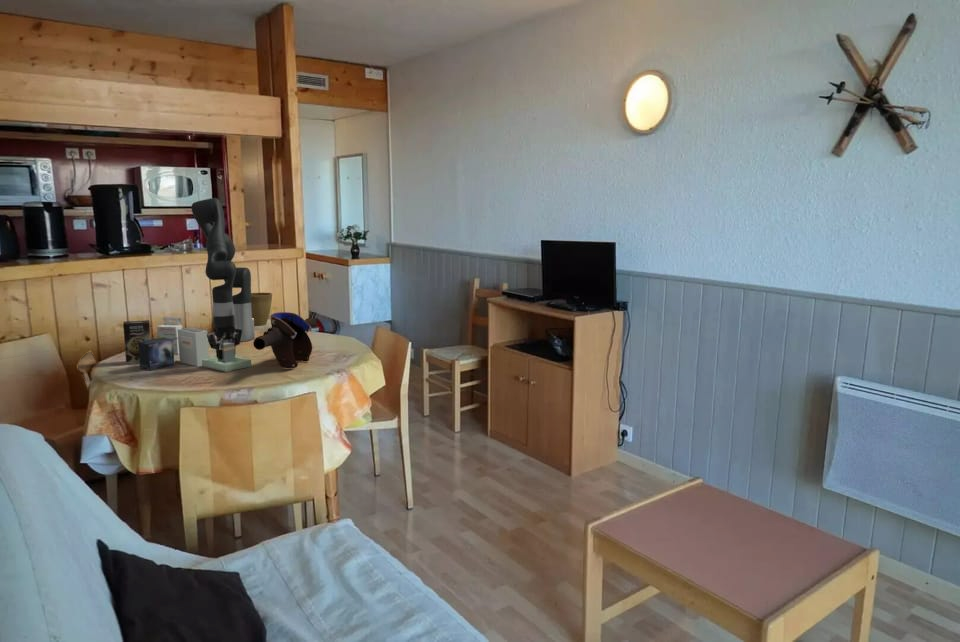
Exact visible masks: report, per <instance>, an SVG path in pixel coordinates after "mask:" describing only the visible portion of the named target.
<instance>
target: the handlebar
mask: <svg viewBox="0 0 960 642" xmlns="http://www.w3.org/2000/svg"><path fill="white" fill-rule="evenodd" d="M270 325H271V327H269V328H267V330H266V331H264V332H263V333H262V334H263V335H260V336H257V337H255V339H253V341H252V343H253V344H252V345H253V347H254V349H256V350H258V351H261V350H264V348H268V347H271V350H272V351H271V352H272V353H273V355H274V357H275V359H276V361H277V364H278V365H279V367H281V368H283V369H295V368H296V369H297V368H298V362H309V360H310V356H311V355H312V351H313V344H312V340H311V339H310V337H309V334H308V333H309V332H310V330H311V329H313V328H316V327H317V325H318V324H317V319H316V318H314V317H312V316H310V317H308V318H306V319H304V318H303V317H302V316H300V315H299V314H297V313H294V312H287V311H286V312H282V311H281V312H275V313H272V314H271V315H270Z"/></svg>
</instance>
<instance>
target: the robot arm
mask: <svg viewBox="0 0 960 642" xmlns="http://www.w3.org/2000/svg"><path fill="white" fill-rule="evenodd" d="M190 208H191V209H190V210H191V212H192V215H193V218H194V220H195V222H196V223H197V225H198V226H199V229H200V230H201V232H202V233H203V235H204V237H205V239H206V241H205V246H206V248H205V249H206V253H207V263H206V265H205V275H206V277H207V279H209V280H211V281H223V282H224V283H223V284H221V285H218V286H214V287H212V288H211V289H212V290H211V291H212V293H211V294H212V321H213V328H214V330H213V332H212V333H207V338H208V345H209V348H211V349H214V350H215V351H216V356H215V357H217V358H218V359H220V360H221V359H223V354H222V350H221V349H222V345H223V344H224V342H231V343H234V346H235V348H236V347H237V346H239V345H240V344H241V342H249V341H252V340H255V338H256V337H255V336H256V334H255V326H254V319H253V318H252V311H251V293H252V276H251V274H252V273H251V271H250V269H249V268H248V267H237V266H236V264H235V262H234V261H232V260H234V257H235V254H236V247H235V245H234V243H233V242H234V241H233V240H232V238H231V236H229V234H227V233H226V230H225V213H224V209H223V206H222V203H221V201H220V200H219V198H216V197H212V198H206V199H203V200H198V201H195V202H192V204H191V207H190ZM211 223H213V225H212V224H211ZM234 288H235V289H241V291H240V292H239V293H237V294H234V295H233V289H234ZM235 355H236V350H235Z"/></svg>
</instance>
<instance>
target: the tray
mask: <svg viewBox="0 0 960 642" xmlns="http://www.w3.org/2000/svg"><path fill="white" fill-rule="evenodd" d="M201 367H204V368H207V369H211V370H216V371H220V372H224V373H229V372H233V371H237V370H241V369H246V368H250V367H252V359H249V358H245V357H240V356H236V355H235V361H233V362H228V363H222V362H218V358H217V356H214V357H209V358H208V359H203V360H202V365H201Z"/></svg>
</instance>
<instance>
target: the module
mask: <svg viewBox="0 0 960 642" xmlns="http://www.w3.org/2000/svg"><path fill="white" fill-rule="evenodd" d="M221 350H222V354H223V359H221V360H220V359H218V362H222V363H228V362H233V361H235V356H236V354H235V351H236V347H235V346H234V343H231V342H228V341H224V344H223V345H222V349H221Z"/></svg>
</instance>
